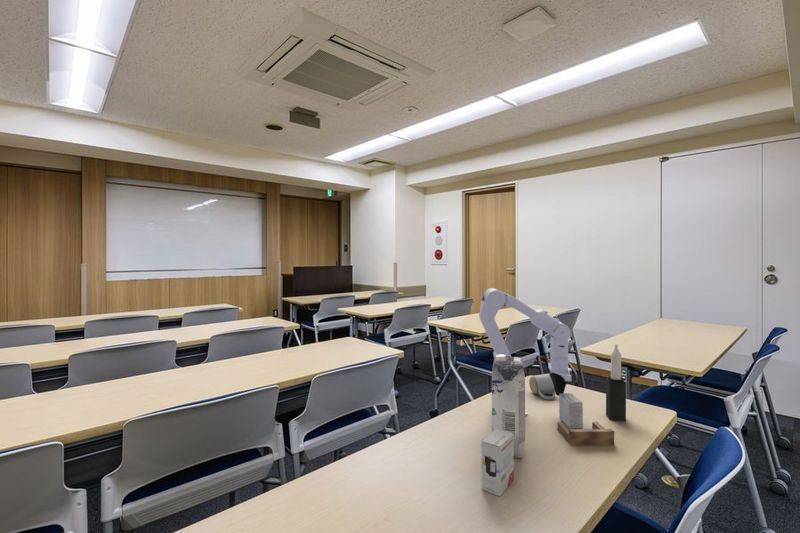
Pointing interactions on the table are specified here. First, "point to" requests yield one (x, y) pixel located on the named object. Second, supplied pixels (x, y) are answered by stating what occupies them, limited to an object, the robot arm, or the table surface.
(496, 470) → the ink box
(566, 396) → the medicine box
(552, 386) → the ceramic mug
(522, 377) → the juice carton
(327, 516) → the table surface
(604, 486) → the table surface
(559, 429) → the holder
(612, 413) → the candle
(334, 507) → the table surface
